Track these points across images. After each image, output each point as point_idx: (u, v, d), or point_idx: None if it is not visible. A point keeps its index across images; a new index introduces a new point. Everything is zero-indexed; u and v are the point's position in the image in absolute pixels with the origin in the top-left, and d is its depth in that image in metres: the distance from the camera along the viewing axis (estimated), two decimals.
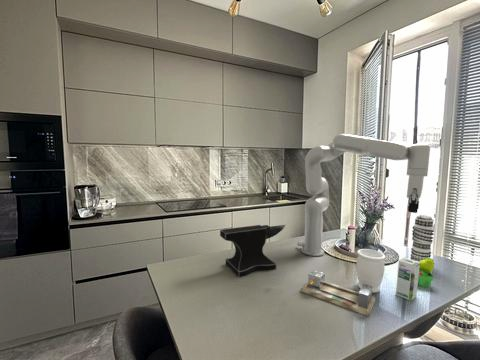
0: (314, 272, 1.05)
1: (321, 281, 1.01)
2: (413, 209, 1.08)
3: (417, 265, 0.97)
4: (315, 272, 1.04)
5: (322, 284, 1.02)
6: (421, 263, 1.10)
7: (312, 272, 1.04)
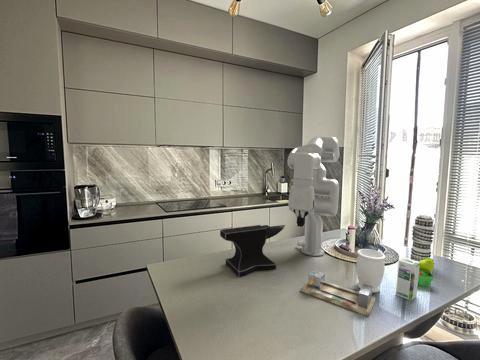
0: (314, 272, 1.05)
1: (321, 281, 1.01)
2: (304, 223, 1.05)
3: (417, 265, 0.97)
4: (315, 272, 1.04)
5: (322, 284, 1.02)
6: (421, 263, 1.10)
7: (312, 272, 1.04)
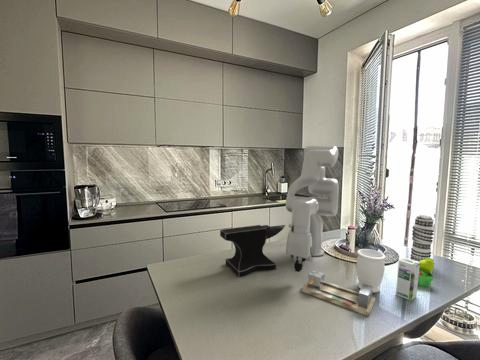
0: (314, 272, 1.05)
1: (321, 281, 1.01)
2: (301, 268, 1.07)
3: (417, 265, 0.97)
4: (315, 272, 1.04)
5: (322, 284, 1.02)
6: (421, 263, 1.10)
7: (312, 272, 1.04)
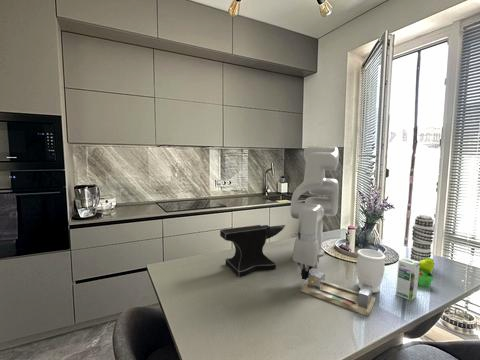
0: (314, 272, 1.05)
1: (321, 281, 1.01)
2: None
3: (417, 265, 0.97)
4: (315, 272, 1.04)
5: (322, 284, 1.02)
6: (421, 263, 1.10)
7: (312, 272, 1.04)
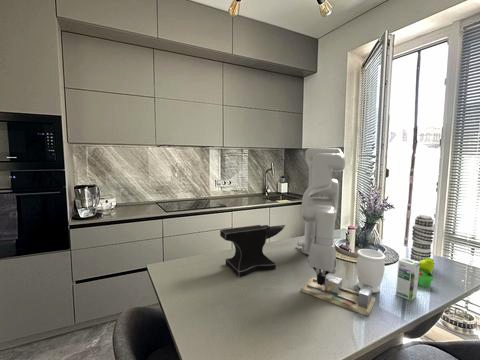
0: (331, 277, 1.00)
1: (339, 287, 0.97)
2: (324, 281, 1.02)
3: (417, 265, 0.97)
4: (332, 277, 1.00)
5: (339, 290, 0.98)
6: (421, 263, 1.10)
7: (329, 277, 1.00)
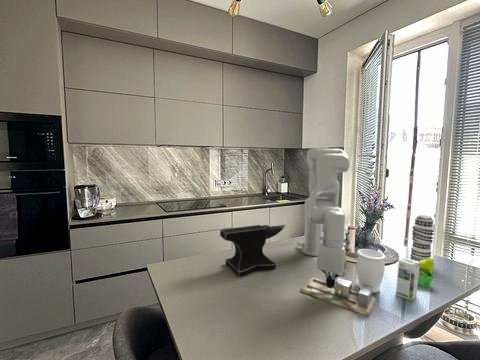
0: (340, 280, 0.98)
1: (349, 290, 0.94)
2: (334, 284, 0.99)
3: (417, 265, 0.97)
4: (342, 280, 0.98)
5: (350, 293, 0.96)
6: (421, 263, 1.10)
7: (338, 280, 0.98)
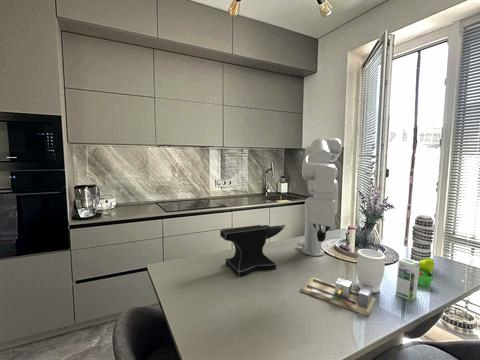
0: (340, 280, 0.98)
1: (349, 290, 0.94)
2: (325, 237, 1.01)
3: (417, 265, 0.97)
4: (342, 280, 0.98)
5: (350, 293, 0.96)
6: (421, 263, 1.10)
7: (339, 280, 0.98)
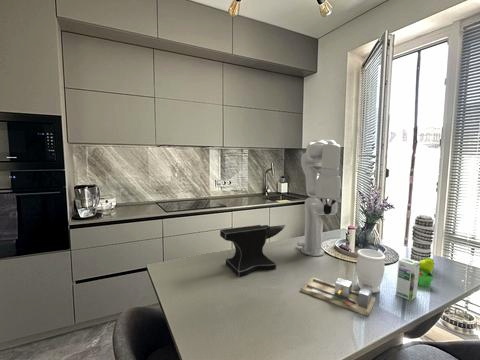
0: (340, 280, 0.98)
1: (349, 290, 0.94)
2: (330, 211, 1.10)
3: (417, 265, 0.97)
4: (342, 280, 0.98)
5: (350, 293, 0.96)
6: (421, 263, 1.10)
7: (339, 280, 0.98)
